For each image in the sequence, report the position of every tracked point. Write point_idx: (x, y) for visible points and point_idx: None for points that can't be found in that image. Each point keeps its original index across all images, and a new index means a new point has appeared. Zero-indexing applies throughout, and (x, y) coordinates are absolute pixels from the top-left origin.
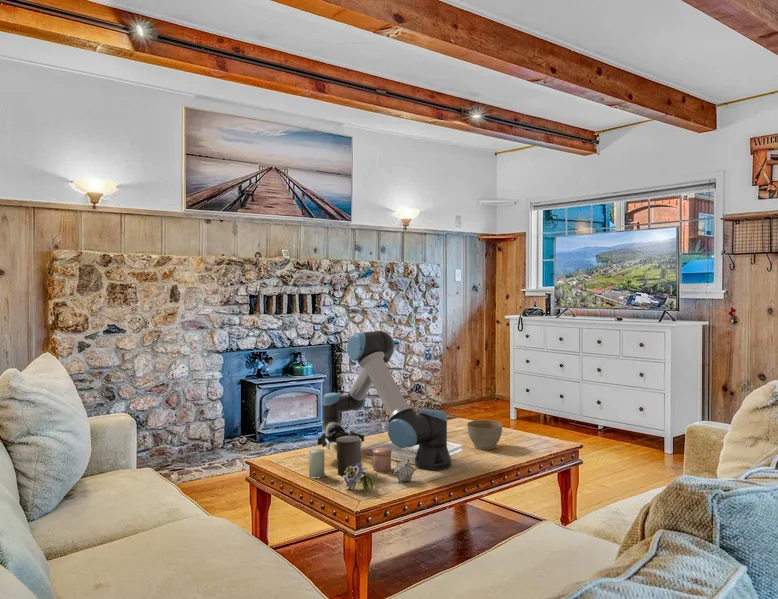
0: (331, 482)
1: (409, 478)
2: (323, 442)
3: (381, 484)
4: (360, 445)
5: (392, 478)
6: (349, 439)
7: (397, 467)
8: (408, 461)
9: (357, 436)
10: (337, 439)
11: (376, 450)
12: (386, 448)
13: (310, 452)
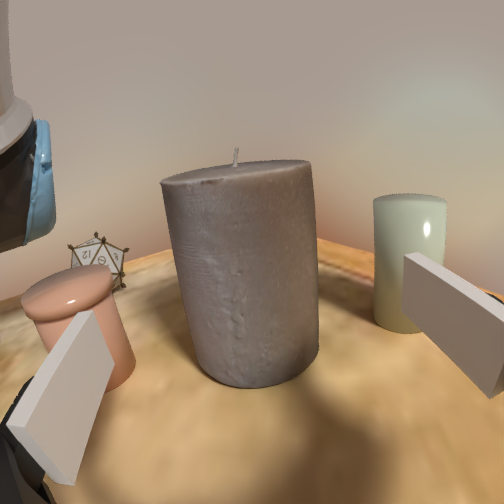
0: (329, 283)
1: None
2: (492, 297)
3: (172, 282)
4: (105, 355)
5: (119, 308)
6: (231, 165)
7: (114, 247)
8: (73, 248)
9: (16, 420)
10: (303, 161)
11: (88, 281)
12: (30, 297)
13: (426, 195)
